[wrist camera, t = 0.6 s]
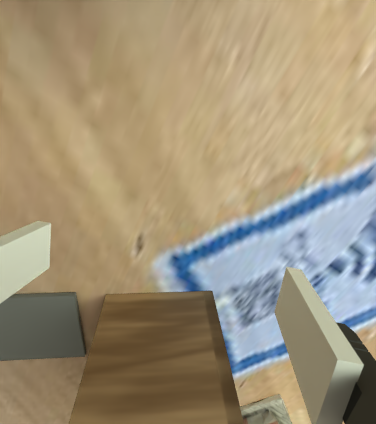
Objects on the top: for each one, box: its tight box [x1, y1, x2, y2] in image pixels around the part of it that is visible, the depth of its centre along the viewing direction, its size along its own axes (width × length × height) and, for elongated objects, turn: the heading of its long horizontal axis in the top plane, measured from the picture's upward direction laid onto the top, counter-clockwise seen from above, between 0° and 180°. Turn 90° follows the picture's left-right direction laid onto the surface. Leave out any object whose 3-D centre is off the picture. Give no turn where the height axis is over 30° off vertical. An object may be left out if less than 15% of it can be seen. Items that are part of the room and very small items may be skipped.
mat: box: [0, 292, 86, 361], centre depth 35 cm, size 10×12×1 cm
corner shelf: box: [69, 291, 244, 424], centre depth 28 cm, size 16×13×20 cm
